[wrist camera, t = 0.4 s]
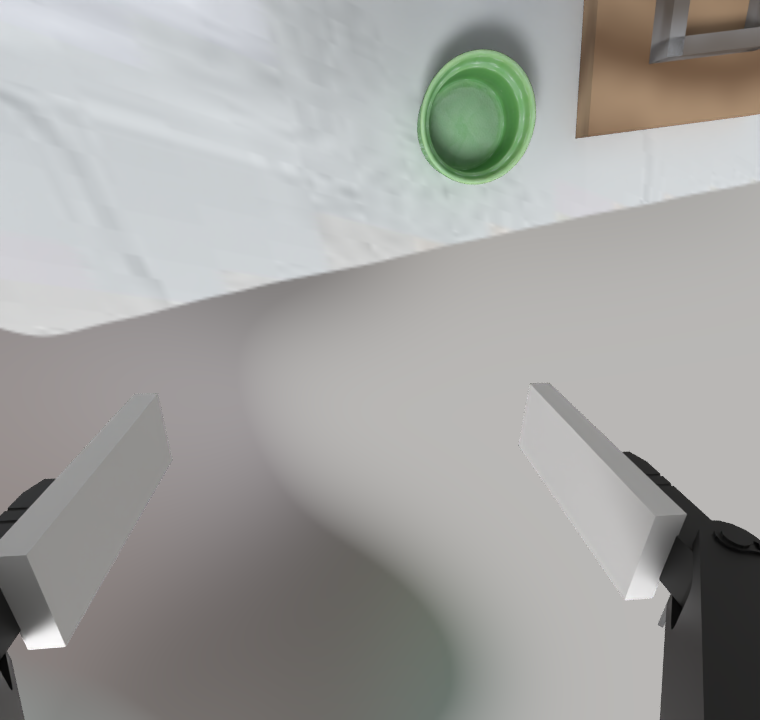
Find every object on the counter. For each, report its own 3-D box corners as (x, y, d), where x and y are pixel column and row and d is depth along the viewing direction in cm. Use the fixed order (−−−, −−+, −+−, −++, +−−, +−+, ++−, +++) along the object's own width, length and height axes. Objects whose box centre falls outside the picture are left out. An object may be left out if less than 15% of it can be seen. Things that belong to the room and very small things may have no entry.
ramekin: (531, 143, 37) (555, 138, 33) (444, 205, 38) (457, 208, 34) (483, 38, 33) (503, 18, 29) (390, 110, 35) (397, 101, 31)
